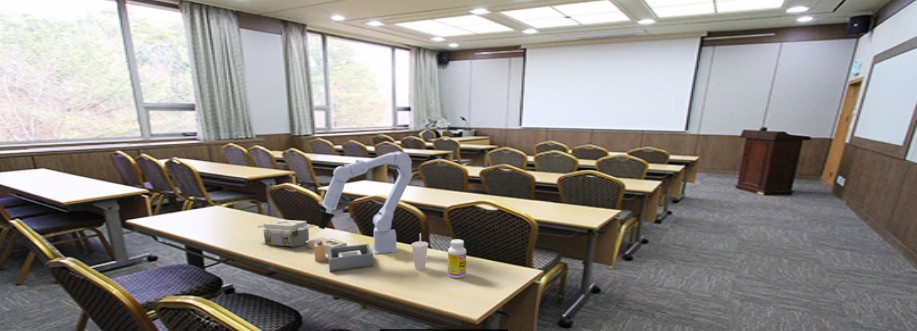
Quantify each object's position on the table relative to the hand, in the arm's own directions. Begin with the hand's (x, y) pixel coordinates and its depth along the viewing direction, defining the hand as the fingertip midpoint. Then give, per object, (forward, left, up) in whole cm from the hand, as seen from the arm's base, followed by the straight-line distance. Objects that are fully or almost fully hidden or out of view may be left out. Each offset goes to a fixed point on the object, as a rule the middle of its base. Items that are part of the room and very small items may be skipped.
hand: (320, 226), depth 153 cm
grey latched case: (+15, -26, -14) cm, 33 cm away
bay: (-10, +10, -14) cm, 20 cm away
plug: (+1, 0, -14) cm, 14 cm away
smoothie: (-35, +24, -14) cm, 45 cm away
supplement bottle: (-46, +35, -14) cm, 59 cm away
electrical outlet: (-3, -11, -14) cm, 18 cm away
